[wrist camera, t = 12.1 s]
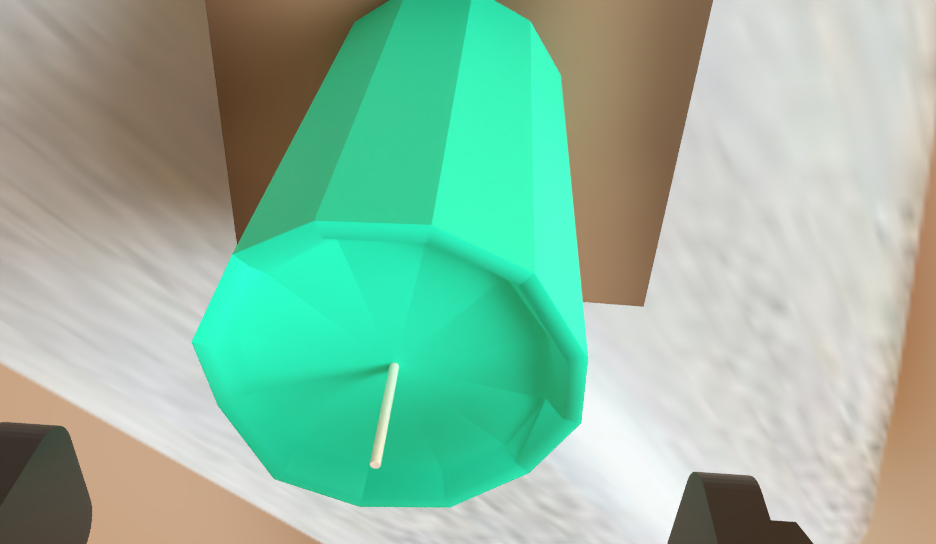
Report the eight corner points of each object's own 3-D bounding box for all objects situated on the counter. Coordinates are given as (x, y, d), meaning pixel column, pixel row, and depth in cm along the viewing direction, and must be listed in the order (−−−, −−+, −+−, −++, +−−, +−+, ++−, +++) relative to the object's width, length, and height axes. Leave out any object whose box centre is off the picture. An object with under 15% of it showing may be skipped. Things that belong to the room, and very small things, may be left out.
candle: (531, -47, 19) (539, 236, 9) (585, 178, 22) (635, 570, 12) (291, 22, 20) (63, 338, 10) (376, 226, 23) (266, 616, 13)
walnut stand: (281, 192, 28) (240, 275, 24) (246, -205, 21) (181, -182, 17) (626, 218, 28) (643, 306, 24) (702, -174, 21) (745, -143, 17)
